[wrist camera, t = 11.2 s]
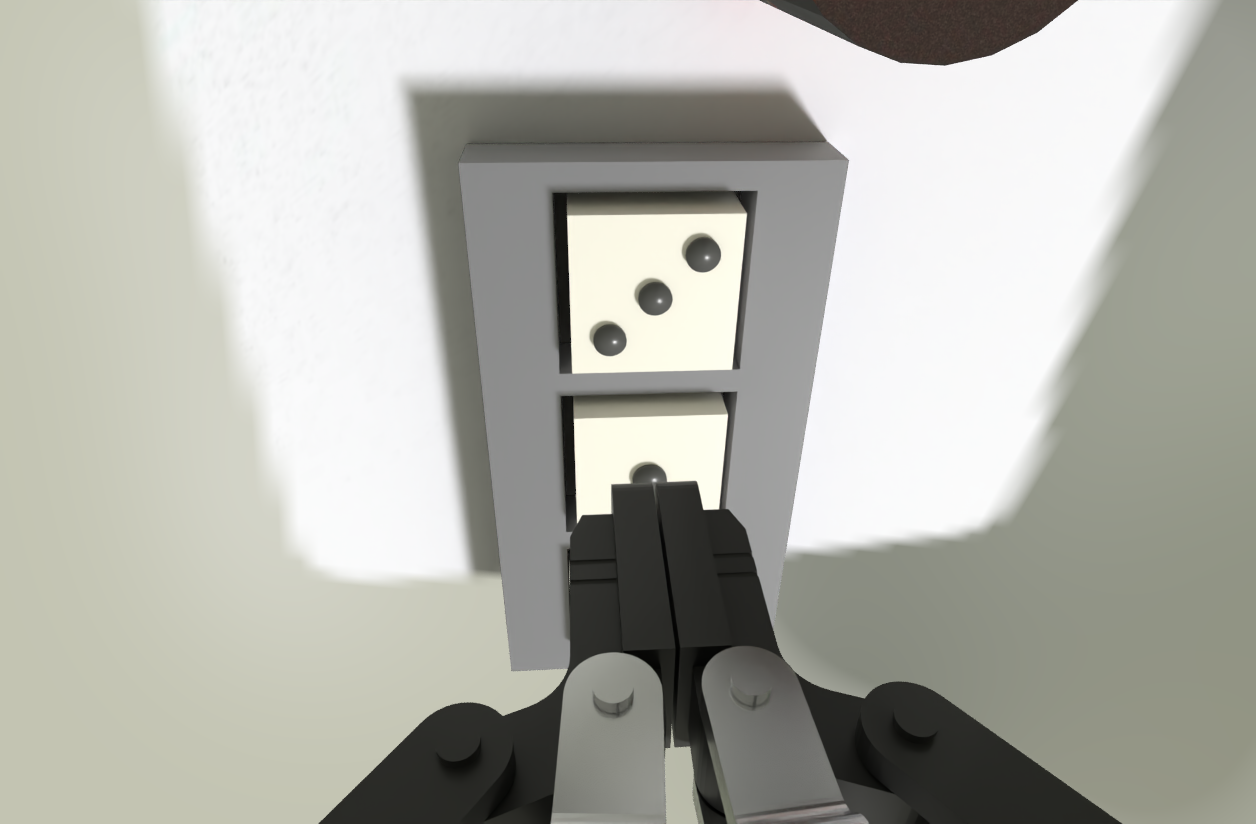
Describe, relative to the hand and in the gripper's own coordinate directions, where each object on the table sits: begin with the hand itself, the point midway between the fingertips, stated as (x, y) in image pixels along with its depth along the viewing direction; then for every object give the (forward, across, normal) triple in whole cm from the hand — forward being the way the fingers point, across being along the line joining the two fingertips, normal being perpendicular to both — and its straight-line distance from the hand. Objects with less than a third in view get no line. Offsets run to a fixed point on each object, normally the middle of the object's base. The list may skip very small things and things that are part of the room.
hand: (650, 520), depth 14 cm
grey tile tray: (+18, -1, +11) cm, 21 cm away
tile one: (+17, -1, +11) cm, 20 cm away
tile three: (+17, -1, +3) cm, 17 cm away
